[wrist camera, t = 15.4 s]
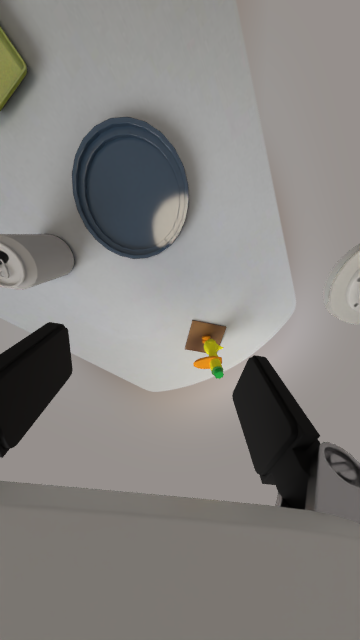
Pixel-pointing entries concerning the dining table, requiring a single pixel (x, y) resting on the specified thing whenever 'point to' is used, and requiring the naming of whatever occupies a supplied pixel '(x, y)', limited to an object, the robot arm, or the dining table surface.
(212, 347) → the toy figure
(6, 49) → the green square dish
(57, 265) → the can
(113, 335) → the dining table surface
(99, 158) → the plate
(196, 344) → the coaster
